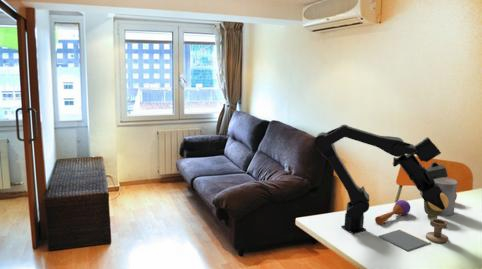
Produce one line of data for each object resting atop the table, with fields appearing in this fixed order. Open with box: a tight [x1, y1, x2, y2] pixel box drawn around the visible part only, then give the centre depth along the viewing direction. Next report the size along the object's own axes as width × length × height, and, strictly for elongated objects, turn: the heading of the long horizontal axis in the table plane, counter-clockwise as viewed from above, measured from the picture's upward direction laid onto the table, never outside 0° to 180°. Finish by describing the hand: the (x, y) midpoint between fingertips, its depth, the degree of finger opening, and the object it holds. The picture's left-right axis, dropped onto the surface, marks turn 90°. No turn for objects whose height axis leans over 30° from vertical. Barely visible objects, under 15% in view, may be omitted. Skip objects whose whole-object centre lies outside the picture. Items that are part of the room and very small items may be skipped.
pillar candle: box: [434, 177, 458, 217], centre depth 158 cm, size 10×10×15 cm
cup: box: [423, 200, 443, 220], centre depth 152 cm, size 8×7×8 cm
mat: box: [378, 228, 432, 252], centre depth 134 cm, size 12×12×1 cm
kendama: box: [374, 199, 411, 226], centre depth 152 cm, size 6×6×20 cm
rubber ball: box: [428, 193, 449, 211], centre depth 132 cm, size 6×6×6 cm
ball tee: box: [425, 218, 449, 245], centre depth 134 cm, size 7×7×6 cm
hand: (441, 205), depth 132 cm, fingers closed on rubber ball, 6 cm apart
